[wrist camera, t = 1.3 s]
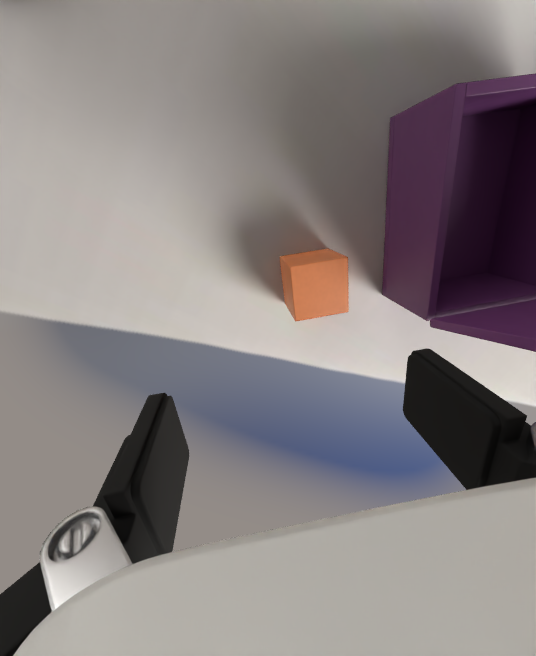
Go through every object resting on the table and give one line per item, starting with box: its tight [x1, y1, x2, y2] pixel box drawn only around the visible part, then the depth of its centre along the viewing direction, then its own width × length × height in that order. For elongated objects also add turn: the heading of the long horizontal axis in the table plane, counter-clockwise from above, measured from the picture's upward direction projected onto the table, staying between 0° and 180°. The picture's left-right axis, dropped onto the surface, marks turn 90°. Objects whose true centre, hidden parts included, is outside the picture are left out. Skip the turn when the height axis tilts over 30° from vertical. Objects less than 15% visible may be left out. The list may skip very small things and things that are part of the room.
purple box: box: [382, 74, 536, 321], centre depth 26 cm, size 18×14×8 cm
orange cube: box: [280, 248, 348, 321], centre depth 29 cm, size 6×6×6 cm
